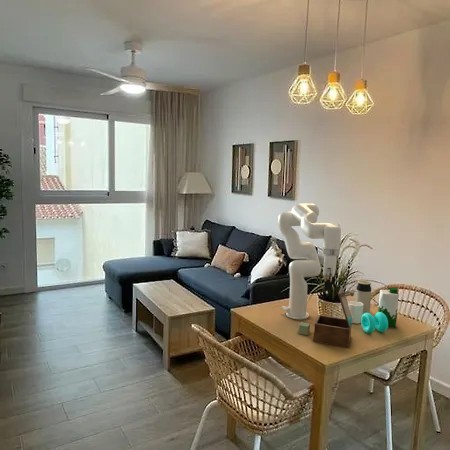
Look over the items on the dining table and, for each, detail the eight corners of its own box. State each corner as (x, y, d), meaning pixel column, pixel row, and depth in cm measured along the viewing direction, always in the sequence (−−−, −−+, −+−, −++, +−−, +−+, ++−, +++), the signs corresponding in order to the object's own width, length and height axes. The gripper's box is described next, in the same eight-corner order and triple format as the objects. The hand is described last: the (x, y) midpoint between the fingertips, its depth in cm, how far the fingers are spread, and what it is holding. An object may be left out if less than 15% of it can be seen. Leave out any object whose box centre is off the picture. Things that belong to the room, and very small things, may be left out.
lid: (338, 294, 176) (351, 291, 174) (341, 286, 188) (353, 284, 185) (348, 328, 176) (362, 326, 174) (350, 319, 188) (363, 317, 185)
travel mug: (368, 315, 219) (370, 284, 216) (353, 312, 222) (355, 282, 220) (370, 311, 225) (372, 281, 223) (356, 308, 229) (358, 279, 227)
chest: (313, 341, 183) (314, 323, 182) (318, 331, 195) (319, 314, 194) (348, 347, 177) (349, 329, 176) (350, 337, 189) (351, 319, 188)
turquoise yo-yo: (388, 335, 192) (390, 316, 190) (370, 336, 190) (371, 317, 188) (376, 327, 202) (378, 309, 200) (359, 328, 199) (360, 310, 198)
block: (298, 333, 192) (299, 325, 191) (300, 330, 196) (300, 321, 195) (307, 335, 190) (308, 326, 190) (309, 331, 194) (309, 323, 194)
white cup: (344, 318, 213) (345, 301, 212) (358, 318, 214) (359, 301, 212) (350, 324, 205) (351, 306, 204) (364, 324, 206) (366, 305, 205)
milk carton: (397, 328, 200) (400, 291, 197) (379, 327, 202) (381, 290, 199) (393, 322, 209) (396, 286, 206) (376, 321, 210) (378, 285, 208)
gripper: (325, 247, 191) (323, 281, 194) (320, 254, 175) (318, 291, 178) (341, 249, 189) (339, 283, 191) (337, 256, 173) (335, 293, 175)
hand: (329, 287), depth 184 cm, fingers open, 9 cm apart
